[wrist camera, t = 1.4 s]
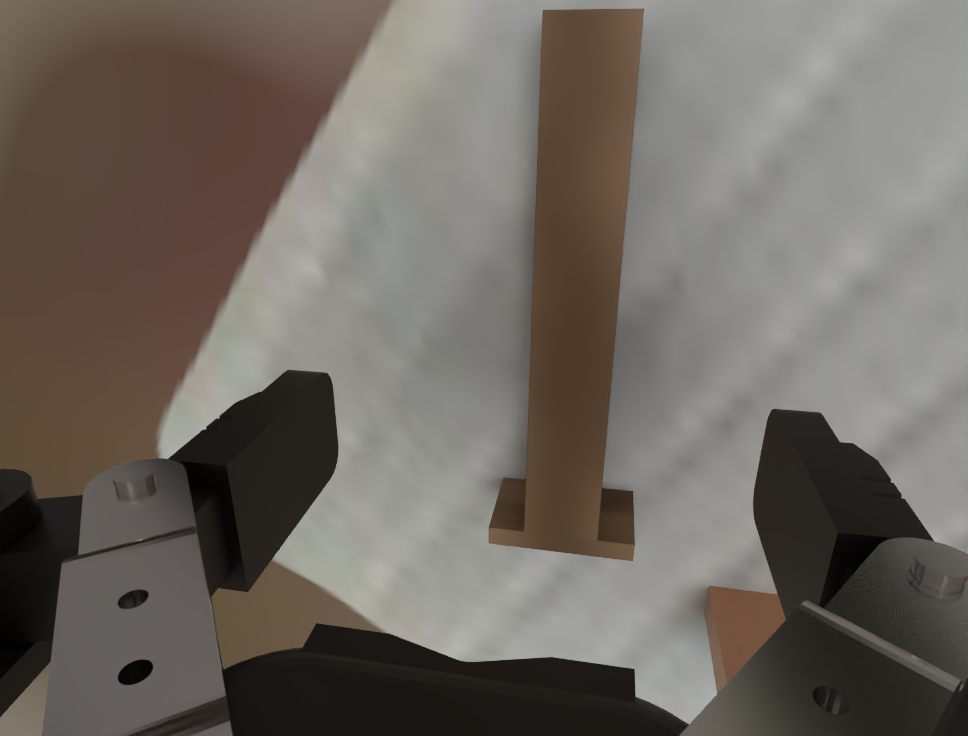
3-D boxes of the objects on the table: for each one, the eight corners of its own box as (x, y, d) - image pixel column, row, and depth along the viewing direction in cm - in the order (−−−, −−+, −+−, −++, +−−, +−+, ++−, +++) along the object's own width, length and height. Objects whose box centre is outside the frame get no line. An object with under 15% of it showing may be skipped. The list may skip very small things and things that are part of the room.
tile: (891, 609, 30) (1006, 830, 21) (881, 642, 31) (988, 869, 22) (709, 585, 32) (744, 785, 23) (703, 618, 33) (736, 823, 23)
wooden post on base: (684, 20, 23) (696, 8, 19) (631, 505, 31) (633, 561, 27) (513, 22, 24) (494, 10, 20) (503, 491, 32) (488, 543, 28)
